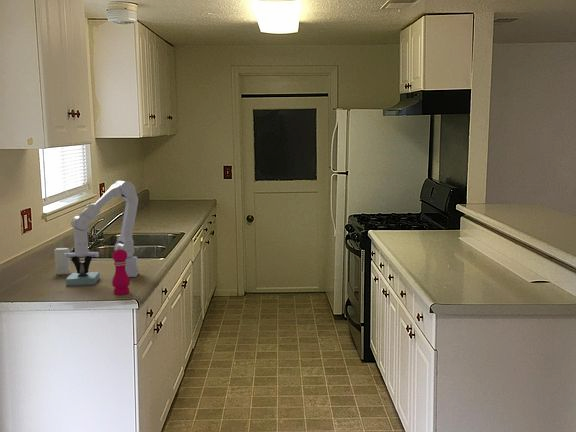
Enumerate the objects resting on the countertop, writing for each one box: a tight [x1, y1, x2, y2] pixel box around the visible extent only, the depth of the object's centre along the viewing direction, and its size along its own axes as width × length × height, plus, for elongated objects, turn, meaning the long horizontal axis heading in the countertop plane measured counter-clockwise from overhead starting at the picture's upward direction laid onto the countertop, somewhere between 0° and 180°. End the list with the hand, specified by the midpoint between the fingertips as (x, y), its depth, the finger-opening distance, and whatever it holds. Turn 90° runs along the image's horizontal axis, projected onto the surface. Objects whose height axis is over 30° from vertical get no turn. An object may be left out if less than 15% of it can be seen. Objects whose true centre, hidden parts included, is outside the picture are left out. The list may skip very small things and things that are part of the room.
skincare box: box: [53, 247, 72, 275], centre depth 296 cm, size 6×4×12 cm
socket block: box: [65, 271, 100, 287], centre depth 281 cm, size 12×12×3 cm
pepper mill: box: [111, 246, 131, 296], centre depth 261 cm, size 7×7×20 cm
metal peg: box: [79, 260, 87, 277], centre depth 280 cm, size 3×3×8 cm
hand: (82, 273), depth 280 cm, fingers closed on metal peg, 3 cm apart
